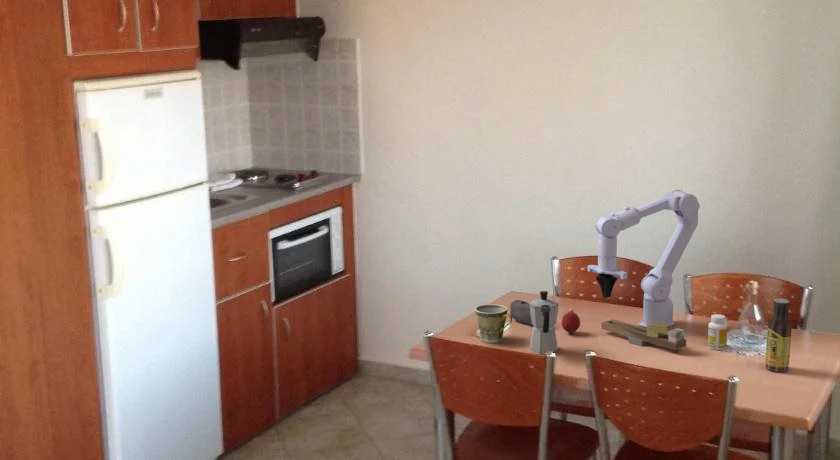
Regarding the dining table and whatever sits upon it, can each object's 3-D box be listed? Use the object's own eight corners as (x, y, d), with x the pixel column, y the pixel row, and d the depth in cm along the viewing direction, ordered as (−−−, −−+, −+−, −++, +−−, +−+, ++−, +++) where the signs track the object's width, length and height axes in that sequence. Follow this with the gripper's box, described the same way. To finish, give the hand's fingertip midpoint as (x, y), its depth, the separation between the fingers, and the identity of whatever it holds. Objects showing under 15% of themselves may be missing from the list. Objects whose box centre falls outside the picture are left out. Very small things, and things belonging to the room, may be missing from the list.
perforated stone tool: (552, 328, 304) (552, 307, 303) (540, 331, 301) (540, 310, 300) (520, 317, 316) (520, 297, 315) (508, 320, 313) (508, 300, 312)
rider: (656, 337, 287) (656, 321, 286) (667, 340, 284) (667, 323, 283) (646, 340, 284) (647, 323, 283) (657, 343, 281) (658, 326, 280)
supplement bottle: (726, 345, 283) (728, 314, 281) (726, 351, 278) (727, 319, 276) (707, 344, 285) (709, 312, 283) (707, 349, 280) (708, 317, 278)
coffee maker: (527, 343, 290) (527, 286, 286) (556, 342, 289) (556, 285, 286) (531, 359, 275) (531, 299, 271) (561, 359, 275) (562, 299, 271)
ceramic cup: (468, 340, 294) (468, 309, 292) (489, 332, 301) (488, 302, 299) (501, 349, 285) (501, 316, 283) (521, 340, 292) (521, 309, 290)
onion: (579, 337, 294) (580, 312, 293) (561, 336, 295) (561, 311, 294) (580, 331, 300) (580, 307, 298) (562, 330, 301) (562, 306, 299)
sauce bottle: (760, 366, 265) (764, 297, 261) (782, 364, 266) (786, 296, 262) (771, 374, 259) (775, 303, 255) (793, 372, 259) (797, 302, 255)
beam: (614, 329, 301) (614, 309, 300) (688, 350, 280) (688, 329, 278) (599, 333, 297) (599, 313, 296) (673, 355, 275) (674, 334, 274)
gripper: (581, 253, 300) (580, 295, 303) (617, 261, 289) (616, 304, 292) (596, 250, 304) (595, 291, 307) (632, 257, 293) (631, 300, 296)
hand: (606, 297), depth 300 cm, fingers closed
